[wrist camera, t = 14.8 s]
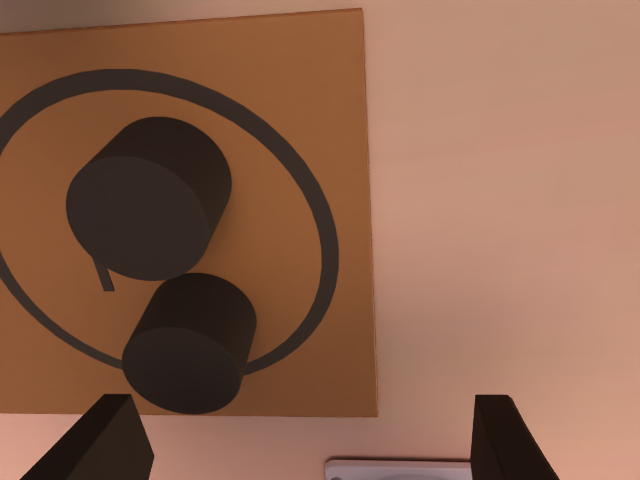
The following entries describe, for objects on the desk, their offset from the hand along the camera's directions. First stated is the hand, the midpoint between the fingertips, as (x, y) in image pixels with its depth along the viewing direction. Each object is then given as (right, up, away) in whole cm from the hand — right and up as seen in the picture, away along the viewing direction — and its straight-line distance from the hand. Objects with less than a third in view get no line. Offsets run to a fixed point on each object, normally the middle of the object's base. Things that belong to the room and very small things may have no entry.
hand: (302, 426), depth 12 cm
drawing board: (-9, +3, +9) cm, 13 cm away
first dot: (-4, +1, +9) cm, 10 cm away
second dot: (-4, +6, +6) cm, 10 cm away
